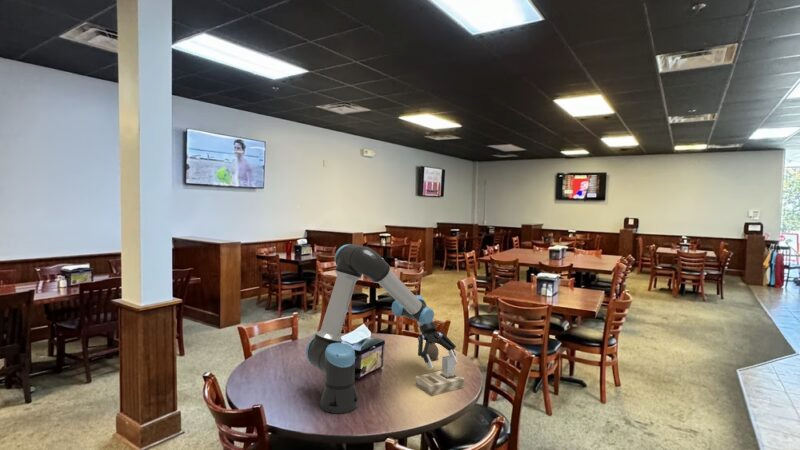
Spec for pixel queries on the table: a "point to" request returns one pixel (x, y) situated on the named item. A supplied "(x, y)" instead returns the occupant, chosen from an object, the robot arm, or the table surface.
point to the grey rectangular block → (448, 367)
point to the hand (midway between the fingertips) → (443, 366)
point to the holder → (438, 383)
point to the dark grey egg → (432, 351)
